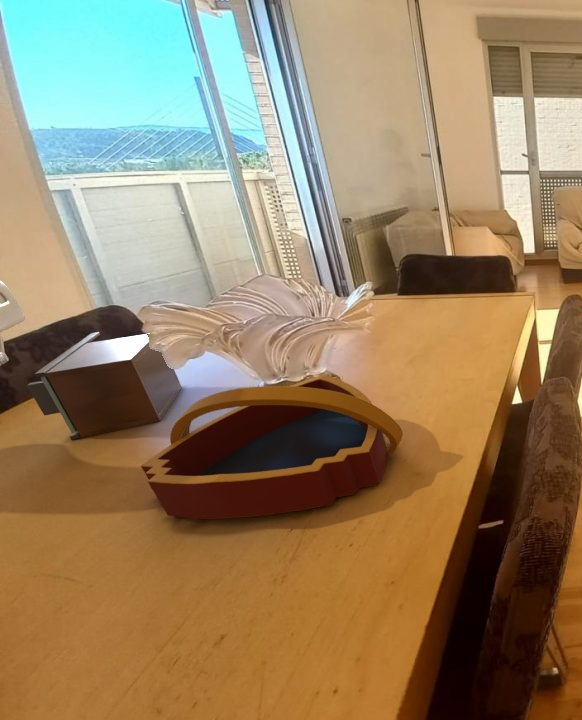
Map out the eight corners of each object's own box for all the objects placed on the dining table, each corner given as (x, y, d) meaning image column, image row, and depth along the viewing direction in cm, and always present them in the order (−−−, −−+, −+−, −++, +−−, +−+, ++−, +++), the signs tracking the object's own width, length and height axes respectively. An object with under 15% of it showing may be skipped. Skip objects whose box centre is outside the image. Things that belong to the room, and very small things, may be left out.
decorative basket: (114, 539, 65) (43, 458, 57) (254, 409, 90) (217, 340, 82) (359, 538, 65) (321, 457, 57) (432, 407, 89) (412, 338, 81)
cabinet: (71, 440, 85) (33, 373, 80) (119, 388, 105) (91, 332, 100) (160, 421, 91) (130, 358, 86) (189, 375, 111) (167, 322, 105)
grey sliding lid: (52, 437, 84) (19, 380, 80) (89, 400, 97) (62, 350, 93) (76, 432, 86) (45, 376, 81) (109, 397, 99) (84, 347, 94)
